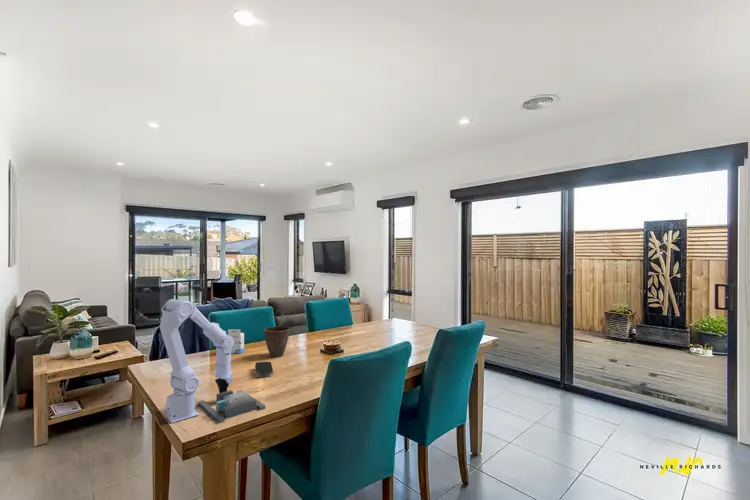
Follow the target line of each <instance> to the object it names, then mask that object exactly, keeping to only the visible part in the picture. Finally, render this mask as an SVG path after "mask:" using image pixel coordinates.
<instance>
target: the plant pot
mask: <svg viewBox="0 0 750 500" xmlns="http://www.w3.org/2000/svg"><path fill="white" fill-rule="evenodd" d="M263 333H264V334H263V335H264V341H265V344H266V348H267V350H268V353H269V356H270V357H272V358H279V357H283V356H284V354H285V351H286V348H287V344H288V341H289V336H290V335H289V334H290V327H287V326H271V327H266V328H264V329H263Z"/></svg>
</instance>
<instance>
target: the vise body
mask: <svg viewBox="0 0 750 500" xmlns="http://www.w3.org/2000/svg"><path fill="white" fill-rule="evenodd" d="M241 391H243V390H242V389H240V390H237V391H236V393H237V392H241ZM197 405H198V406H199V407H200V408H201V409H202V410H203V411H204V412H206V413H207V414H208V415H209V416H210V417H211V418H212V419H214V420H215V422H217V423H218V424H221V423H224V422H225V420H227V419H230V418H233V417H237V416H240V415H243V414H247V413H249V412H253V411H255V410H257V409H259V410H260V411H262V410H265V409H266V405H265V404H264V403H262V402H261V401H260V400H257V398H255V397H253V396H251V395H250V394H249V401H246V402H242V403H239V404H235V405H232V406H229V407H225V408H224V411H222V413H223V415H221V413H220V412H217V411H216V409H215V408H213V407H212V406H211V405H210V404H208V403H207V402H206V401H205V400H204V399H203V400H199V401H198V402H197Z"/></svg>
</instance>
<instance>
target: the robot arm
mask: <svg viewBox="0 0 750 500" xmlns="http://www.w3.org/2000/svg"><path fill="white" fill-rule="evenodd" d="M160 310H161V313H162V314H161V319H160V324H159V329H160V332H161V333H160V334H161V337H162V340H163V342H164V346H165V349H166V353H167V355H168V359H169V363H170V366H171V369H172V370H171V372H170V373H169V374H170V387H172V388H173V393H171V394H169V395H167V396H166V399H165V403H166V405H165V418H166V419H168V421H169V422H170V423H177V422H180V421H183V420H187V419H190V418H194V417H196V416H199V415H200V413H199V412H198V411H197V410H196V392H197V389H198V388H199V386H200V378H199V377H198V376H197V375H196V374H195V371H194V369H193V368H192V367H191V366H190V364H189V362H188V361H189V360H188V358H187V355H186V352H185V348H184V345H183V341H182V337H181V335H180V331H179V327H180V326H181V324H182V323H184V321H186V320H187V319H188V318H189V319H190V320H192V321H193V322H194V323H196V325H198V326H199V327H200V328H201V329H203V330H202V332H203V333H202V334H204V336H206V337H207V338H208V339H209V340H210V341H211V342H212V345H213V347H215V349H216V350H215V369H214V372H213V374H214V377H215V380H214V382H215V383H216V385H217V388H218V392H219V393H222V392H226V391H228V389H229V385H230V384H232V383H234V382H233V381H234V377H233V376H232V375H234V371H232V369H231V366H232V353H231V351H232V346H233V345H234V341H233V338H232V337H231V336H230V335H228V334H227V331H226V330H223V329H222V328H221V327H220V324H219V322H218V323H217V322H210V321H209V320H208V319H207V318H206V317H205V316H204V314H203V313H202V312H200V310H199V309H198V308H197V306H196V305H194V304H193V303H192V302H191V301H189V300H180V299H176V298H171V299H169V300H167V301H166V302H165V303H164V304H163V306H162V307H161V309H160Z"/></svg>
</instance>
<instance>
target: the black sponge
mask: <svg viewBox="0 0 750 500" xmlns="http://www.w3.org/2000/svg"><path fill="white" fill-rule="evenodd" d="M254 368H255V369H254V370H255V375H256V377H258V378H262V377H266V378H268V377H270V378H271V377H273V376H274V370H273V369H274V368H273V365H272V362H271V361H257V362H255V365H254Z"/></svg>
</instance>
